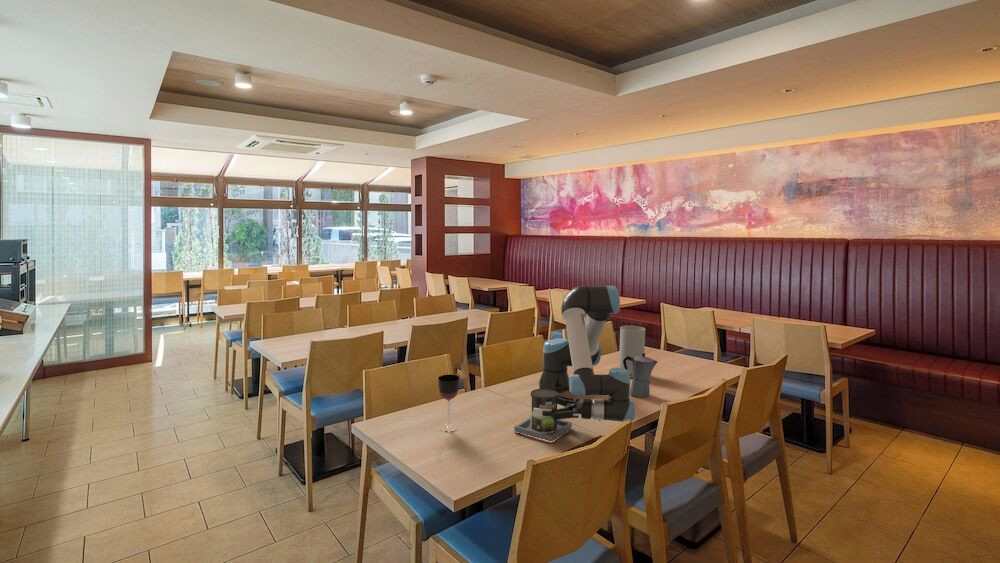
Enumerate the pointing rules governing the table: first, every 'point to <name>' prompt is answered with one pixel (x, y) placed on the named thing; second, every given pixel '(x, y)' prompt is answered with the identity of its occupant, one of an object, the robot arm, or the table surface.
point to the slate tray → (525, 429)
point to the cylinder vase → (631, 345)
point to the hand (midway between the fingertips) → (535, 405)
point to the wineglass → (448, 389)
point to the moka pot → (640, 375)
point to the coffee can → (545, 401)
